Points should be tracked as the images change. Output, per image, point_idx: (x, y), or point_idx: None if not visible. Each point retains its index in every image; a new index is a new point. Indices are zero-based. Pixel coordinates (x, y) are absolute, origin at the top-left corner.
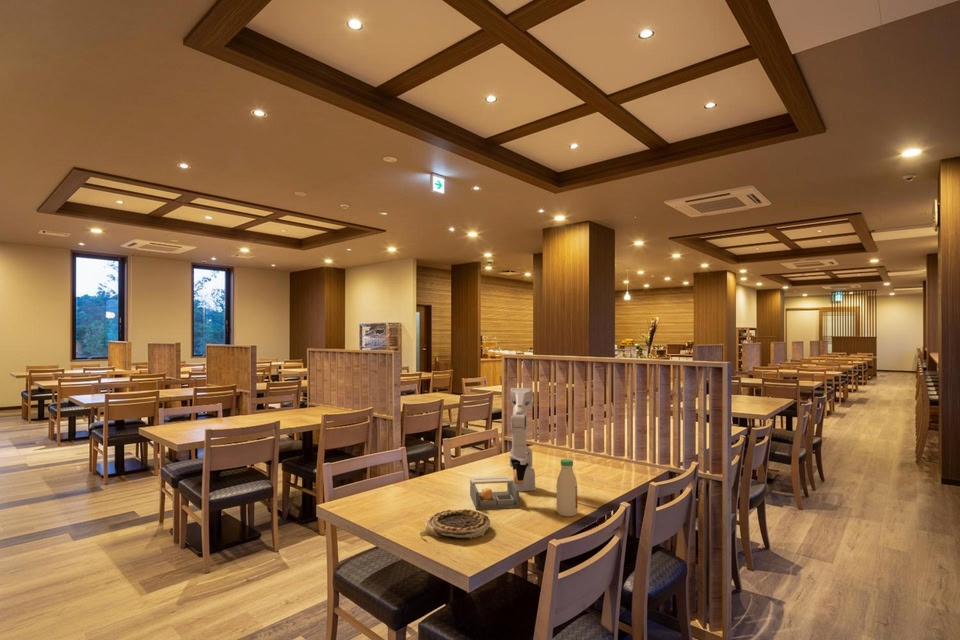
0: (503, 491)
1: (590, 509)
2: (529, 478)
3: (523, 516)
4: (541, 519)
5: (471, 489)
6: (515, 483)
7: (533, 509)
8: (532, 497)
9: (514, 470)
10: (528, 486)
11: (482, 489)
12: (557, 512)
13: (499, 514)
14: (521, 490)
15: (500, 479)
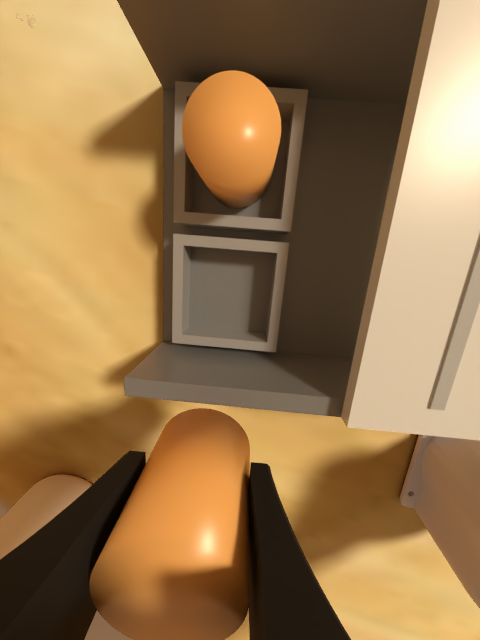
0: None
1: None
2: (467, 548)
3: (44, 330)
4: (5, 392)
5: None
6: (182, 412)
7: (134, 403)
8: (304, 455)
9: (157, 536)
10: (431, 493)
11: (256, 85)
12: (60, 477)
13: (77, 216)
14: (418, 442)
15: (423, 331)
